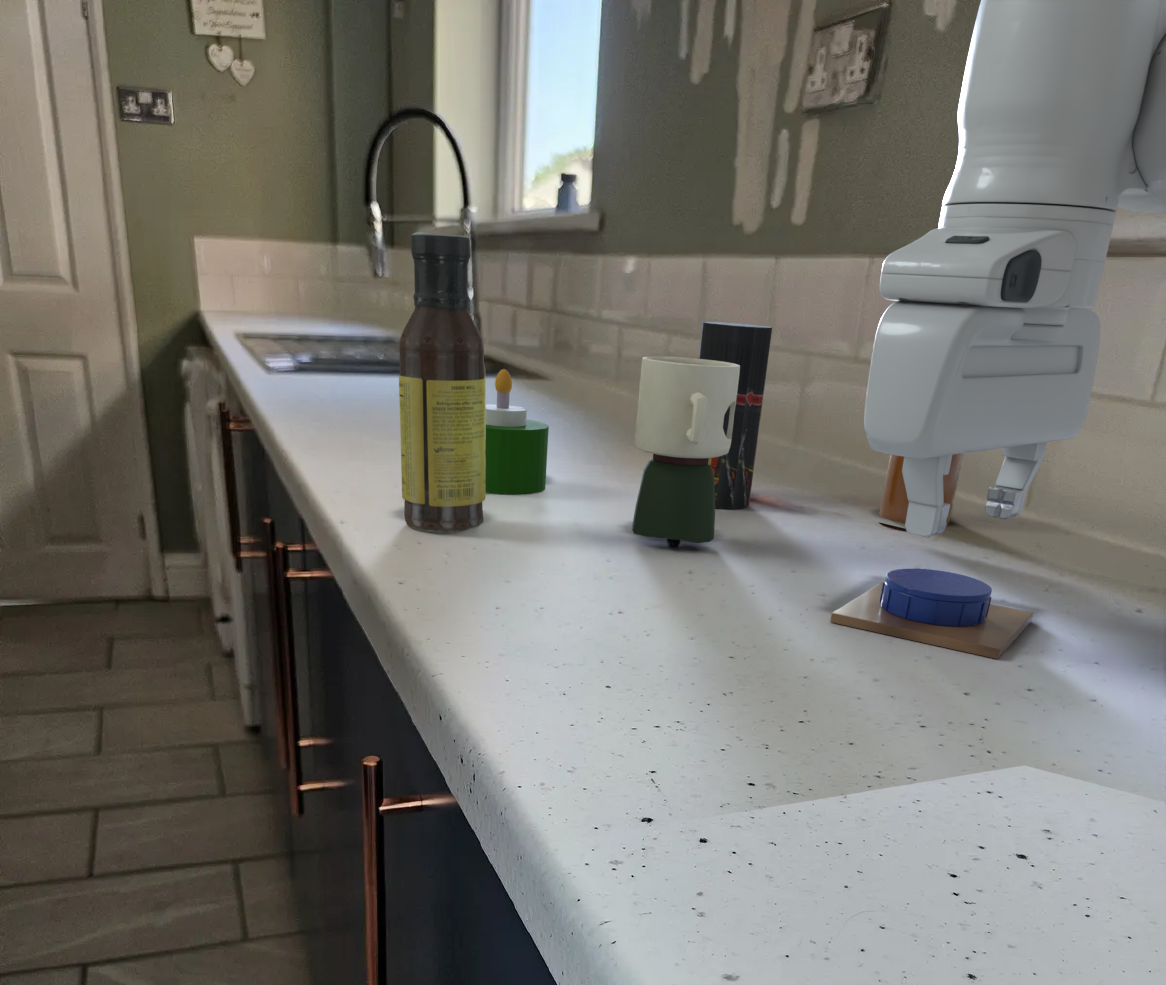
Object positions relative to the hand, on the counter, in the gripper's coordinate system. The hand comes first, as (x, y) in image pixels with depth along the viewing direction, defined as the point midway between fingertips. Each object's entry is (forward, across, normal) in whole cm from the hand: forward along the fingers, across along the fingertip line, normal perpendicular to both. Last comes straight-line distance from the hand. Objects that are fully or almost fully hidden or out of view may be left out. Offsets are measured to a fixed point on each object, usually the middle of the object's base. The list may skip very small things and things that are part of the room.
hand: (964, 525), depth 65 cm
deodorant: (+6, -17, -33) cm, 37 cm away
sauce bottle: (+6, +12, -36) cm, 38 cm away
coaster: (+6, 0, -1) cm, 6 cm away
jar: (+6, -26, -18) cm, 32 cm away
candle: (+6, -3, -47) cm, 47 cm away
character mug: (+6, -1, -24) cm, 24 cm away
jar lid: (+4, 0, -1) cm, 4 cm away
